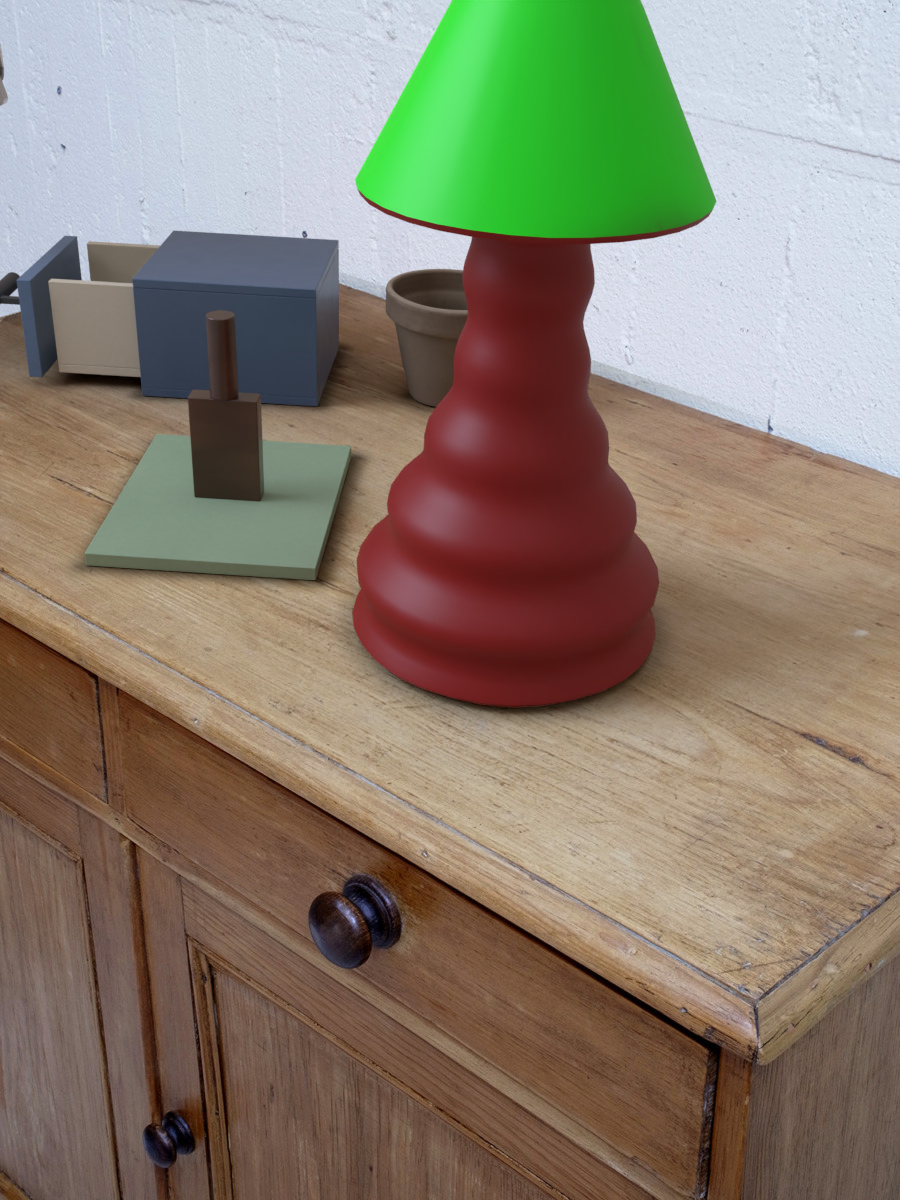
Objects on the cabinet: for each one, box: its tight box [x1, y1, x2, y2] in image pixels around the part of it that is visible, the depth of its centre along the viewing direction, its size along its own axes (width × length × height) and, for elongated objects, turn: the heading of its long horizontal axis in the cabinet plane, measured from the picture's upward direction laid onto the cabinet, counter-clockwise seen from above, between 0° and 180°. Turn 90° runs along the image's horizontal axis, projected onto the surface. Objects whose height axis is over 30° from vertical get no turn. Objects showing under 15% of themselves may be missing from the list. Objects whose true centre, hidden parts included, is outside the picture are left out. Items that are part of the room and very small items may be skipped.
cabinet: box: [132, 230, 340, 407], centre depth 119 cm, size 16×15×11 cm
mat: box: [84, 433, 352, 581], centre depth 99 cm, size 16×20×1 cm
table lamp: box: [351, 0, 717, 709], centre depth 75 cm, size 20×20×45 cm
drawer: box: [0, 235, 162, 378], centre depth 120 cm, size 19×13×9 cm
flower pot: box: [385, 268, 468, 408], centre depth 116 cm, size 12×11×10 cm
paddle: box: [187, 310, 264, 501], centre depth 95 cm, size 5×2×14 cm, turn 87°
